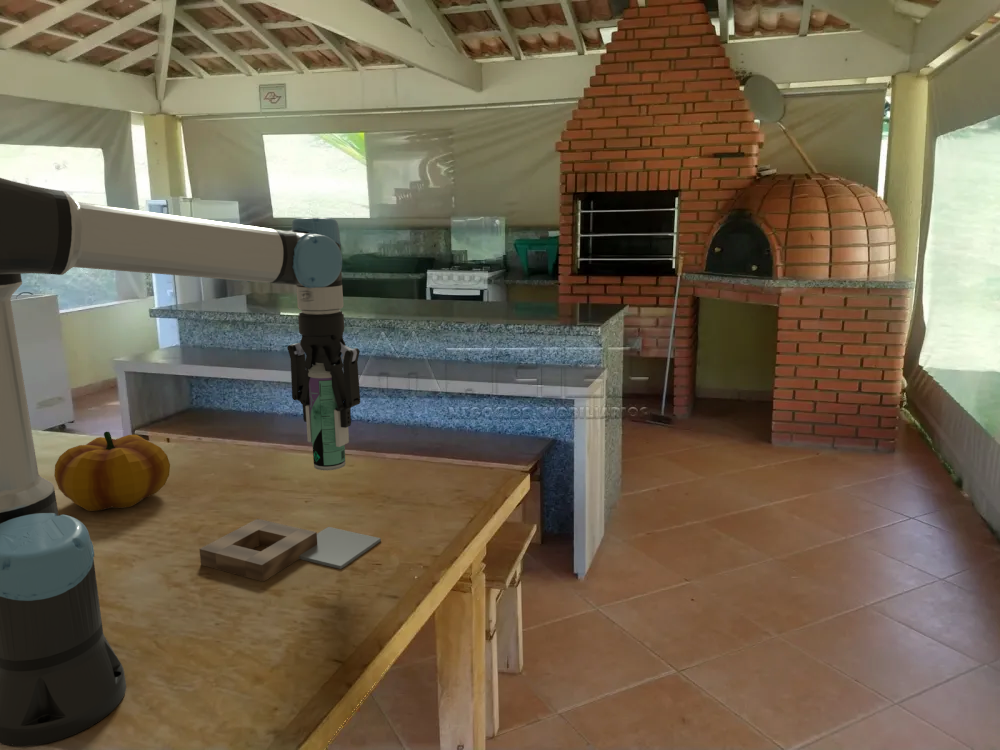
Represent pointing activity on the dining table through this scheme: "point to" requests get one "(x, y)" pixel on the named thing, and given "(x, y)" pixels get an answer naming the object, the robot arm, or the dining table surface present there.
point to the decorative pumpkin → (112, 472)
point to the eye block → (242, 560)
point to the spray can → (323, 420)
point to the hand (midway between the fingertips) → (328, 441)
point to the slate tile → (338, 547)
